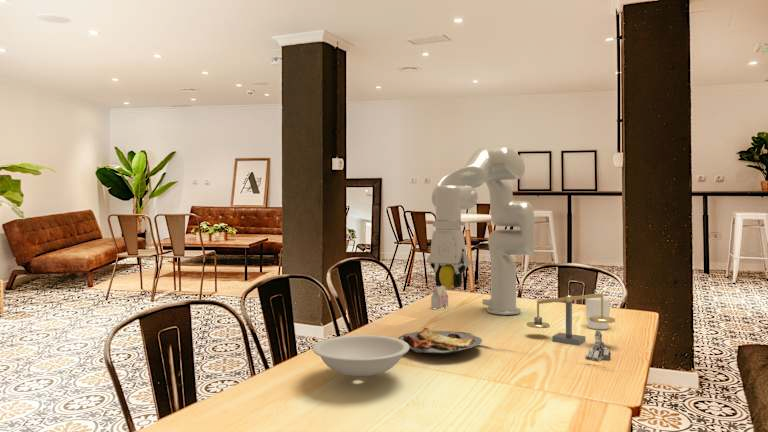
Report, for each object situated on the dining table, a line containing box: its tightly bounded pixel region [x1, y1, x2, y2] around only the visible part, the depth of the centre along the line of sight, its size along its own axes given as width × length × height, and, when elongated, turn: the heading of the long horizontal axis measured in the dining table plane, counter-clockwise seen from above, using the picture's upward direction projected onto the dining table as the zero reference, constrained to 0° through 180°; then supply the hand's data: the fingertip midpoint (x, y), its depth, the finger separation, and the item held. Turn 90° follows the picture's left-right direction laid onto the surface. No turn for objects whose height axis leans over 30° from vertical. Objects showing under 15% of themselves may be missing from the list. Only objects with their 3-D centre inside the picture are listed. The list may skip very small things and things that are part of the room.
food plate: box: [397, 327, 483, 355], centre depth 157 cm, size 25×23×4 cm
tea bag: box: [430, 285, 449, 310], centre depth 210 cm, size 4×7×10 cm, turn 143°
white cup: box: [584, 296, 611, 330], centre depth 181 cm, size 8×8×10 cm
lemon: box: [439, 264, 456, 290], centre depth 160 cm, size 6×6×8 cm
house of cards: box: [584, 330, 612, 362], centre depth 141 cm, size 9×9×8 cm
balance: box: [526, 292, 616, 346], centre depth 162 cm, size 27×7×16 cm, turn 51°
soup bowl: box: [312, 334, 410, 377], centre depth 132 cm, size 24×24×7 cm
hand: (448, 285), depth 160 cm, fingers closed on lemon, 5 cm apart
